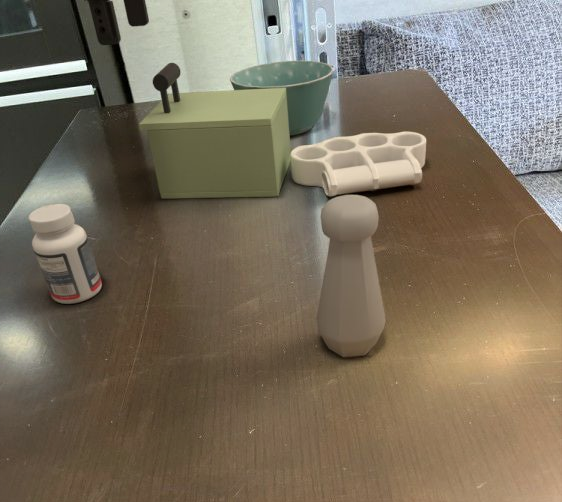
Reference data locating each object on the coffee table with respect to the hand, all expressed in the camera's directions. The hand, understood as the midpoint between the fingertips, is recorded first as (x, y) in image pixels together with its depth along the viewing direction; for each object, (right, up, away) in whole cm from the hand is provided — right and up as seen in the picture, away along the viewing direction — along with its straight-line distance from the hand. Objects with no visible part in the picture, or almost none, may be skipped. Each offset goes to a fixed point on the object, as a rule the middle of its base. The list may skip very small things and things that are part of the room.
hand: (125, 34), depth 66 cm
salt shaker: (+23, -34, -12) cm, 42 cm away
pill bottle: (-5, -28, -1) cm, 28 cm away
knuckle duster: (+27, -10, +16) cm, 33 cm away
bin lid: (+8, -2, +14) cm, 16 cm away
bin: (+9, -9, +19) cm, 23 cm away
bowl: (+17, +3, +33) cm, 38 cm away
